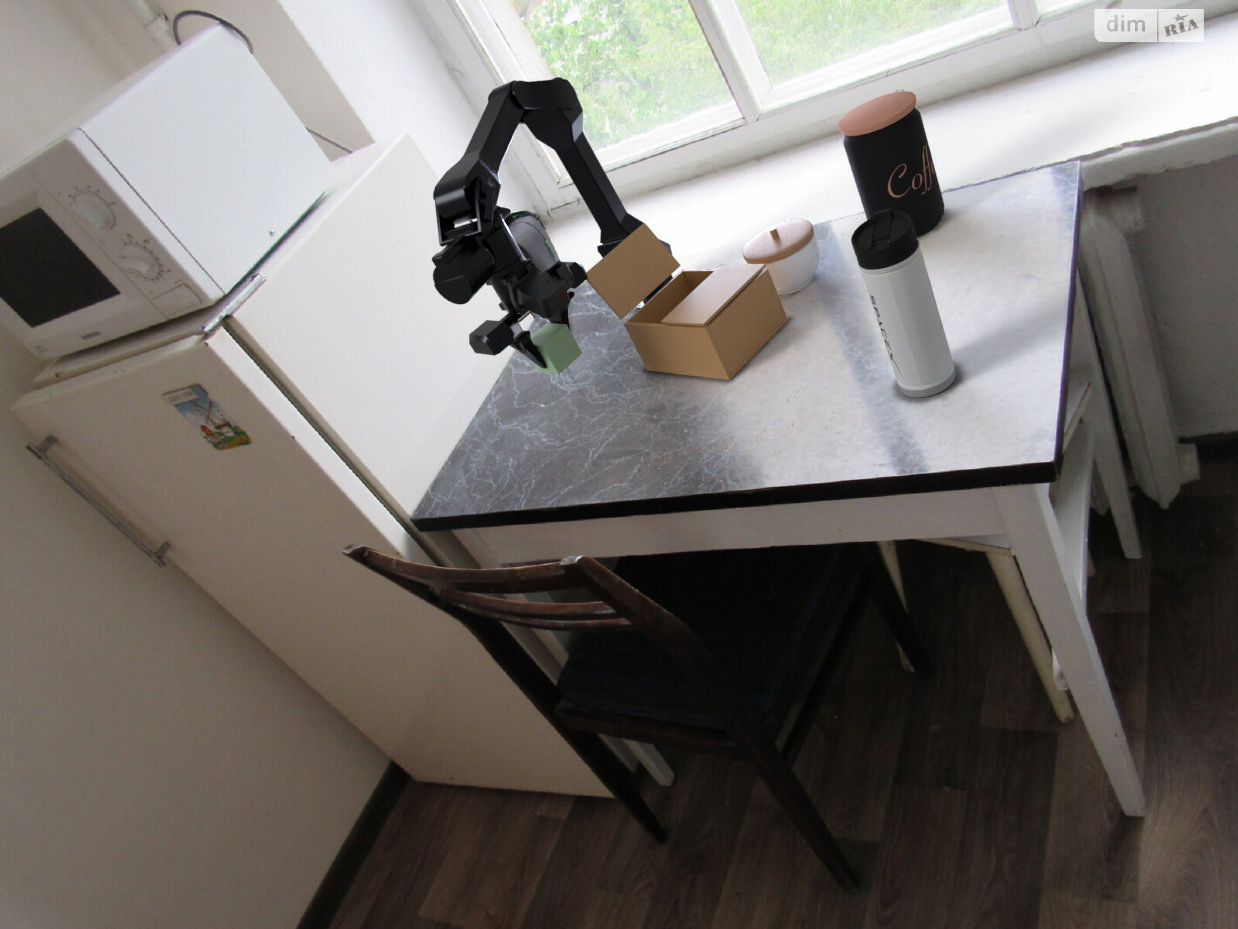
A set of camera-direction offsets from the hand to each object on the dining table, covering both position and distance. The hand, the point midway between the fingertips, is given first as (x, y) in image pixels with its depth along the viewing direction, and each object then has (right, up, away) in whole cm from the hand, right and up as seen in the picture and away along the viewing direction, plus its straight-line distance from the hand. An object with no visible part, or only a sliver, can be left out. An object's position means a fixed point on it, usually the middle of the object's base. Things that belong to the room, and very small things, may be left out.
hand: (557, 356), depth 124 cm
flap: (+11, +13, +4) cm, 17 cm away
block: (0, -1, +1) cm, 1 cm away
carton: (+23, +2, +3) cm, 23 cm away
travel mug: (+44, -6, -26) cm, 51 cm away
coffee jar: (+52, +20, +4) cm, 56 cm away
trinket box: (+35, +12, +7) cm, 38 cm away
